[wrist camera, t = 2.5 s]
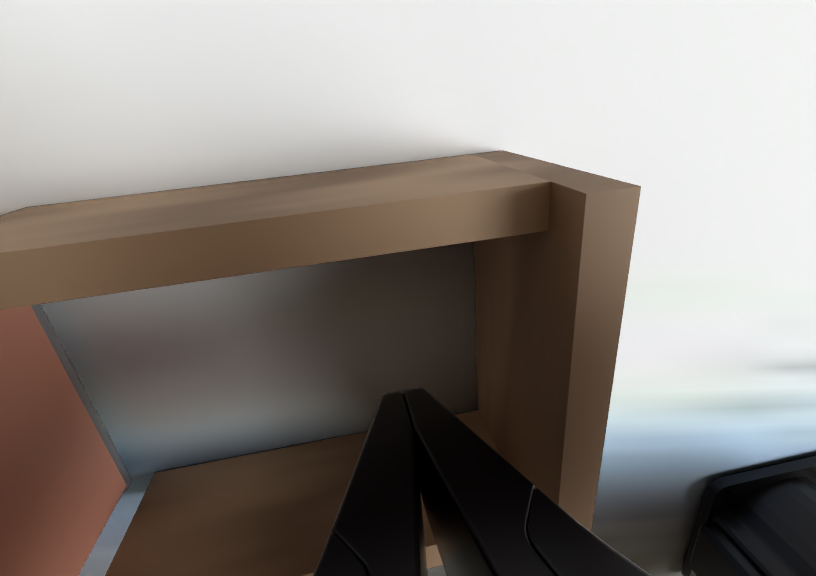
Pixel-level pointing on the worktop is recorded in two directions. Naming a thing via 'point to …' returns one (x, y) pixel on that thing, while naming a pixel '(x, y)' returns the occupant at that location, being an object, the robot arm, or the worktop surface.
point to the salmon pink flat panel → (49, 454)
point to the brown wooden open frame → (348, 239)
